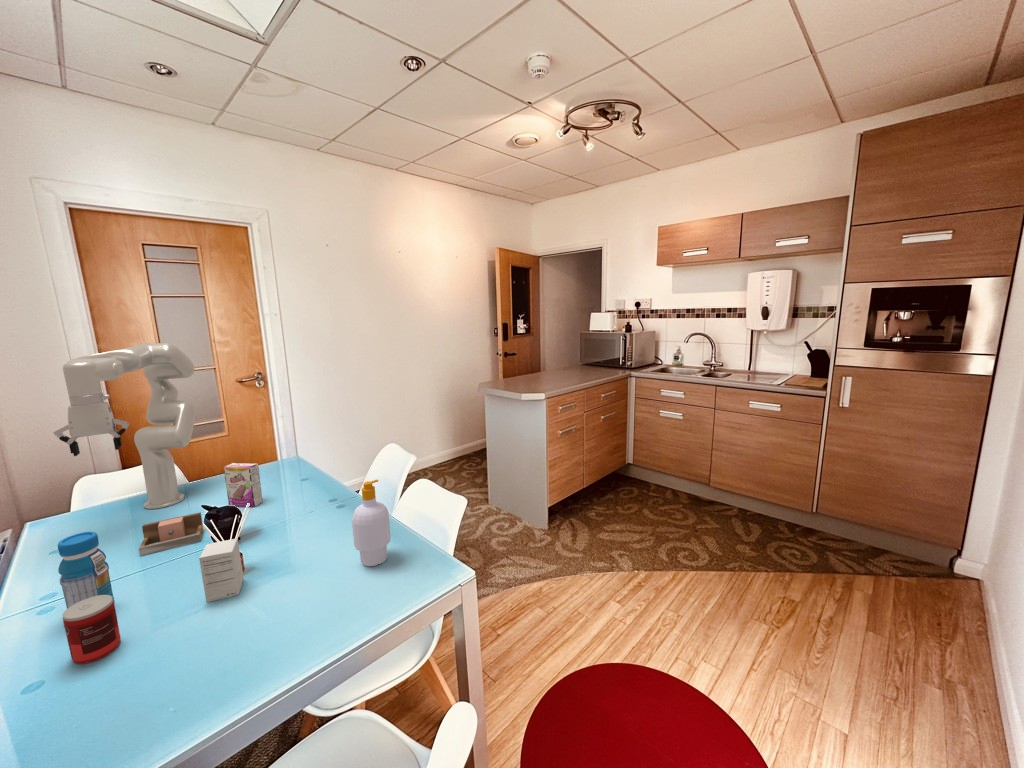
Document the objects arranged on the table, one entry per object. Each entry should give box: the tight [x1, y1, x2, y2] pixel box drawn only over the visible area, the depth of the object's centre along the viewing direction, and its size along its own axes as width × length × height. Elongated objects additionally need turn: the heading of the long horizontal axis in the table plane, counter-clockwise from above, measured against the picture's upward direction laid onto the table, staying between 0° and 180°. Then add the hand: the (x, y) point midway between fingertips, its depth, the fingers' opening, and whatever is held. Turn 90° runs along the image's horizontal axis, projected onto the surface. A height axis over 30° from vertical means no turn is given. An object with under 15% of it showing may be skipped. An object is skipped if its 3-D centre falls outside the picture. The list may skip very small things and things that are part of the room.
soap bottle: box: [351, 479, 391, 567], centre depth 121 cm, size 10×10×24 cm
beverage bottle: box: [57, 531, 116, 609], centre depth 102 cm, size 8×8×20 cm
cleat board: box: [138, 512, 204, 557], centre depth 135 cm, size 9×15×6 cm, turn 122°
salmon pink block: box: [158, 516, 187, 542], centre depth 136 cm, size 5×6×7 cm
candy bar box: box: [223, 462, 264, 508], centre depth 162 cm, size 11×5×16 cm, turn 84°
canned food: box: [62, 595, 122, 665], centre depth 90 cm, size 8×8×11 cm
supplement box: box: [198, 538, 244, 603], centre depth 110 cm, size 7×7×13 cm
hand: (97, 451), depth 134 cm, fingers open, 9 cm apart
